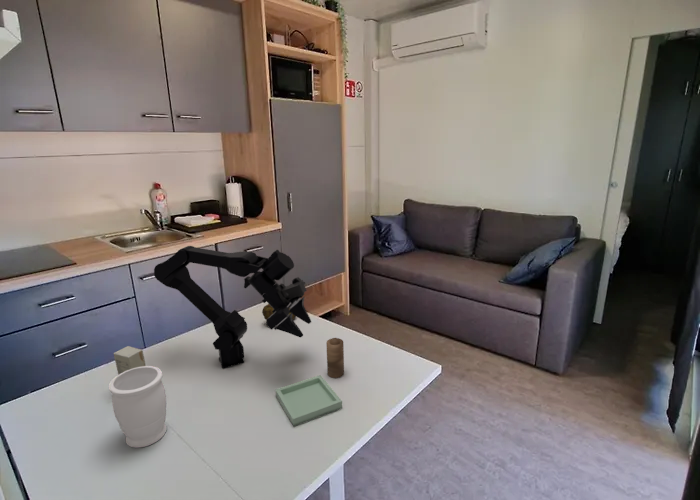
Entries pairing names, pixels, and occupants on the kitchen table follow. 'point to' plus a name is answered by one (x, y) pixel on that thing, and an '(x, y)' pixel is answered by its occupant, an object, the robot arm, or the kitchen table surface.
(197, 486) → the kitchen table surface
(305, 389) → the tray
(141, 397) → the jar
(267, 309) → the potato
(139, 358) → the skincare box
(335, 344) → the mill
